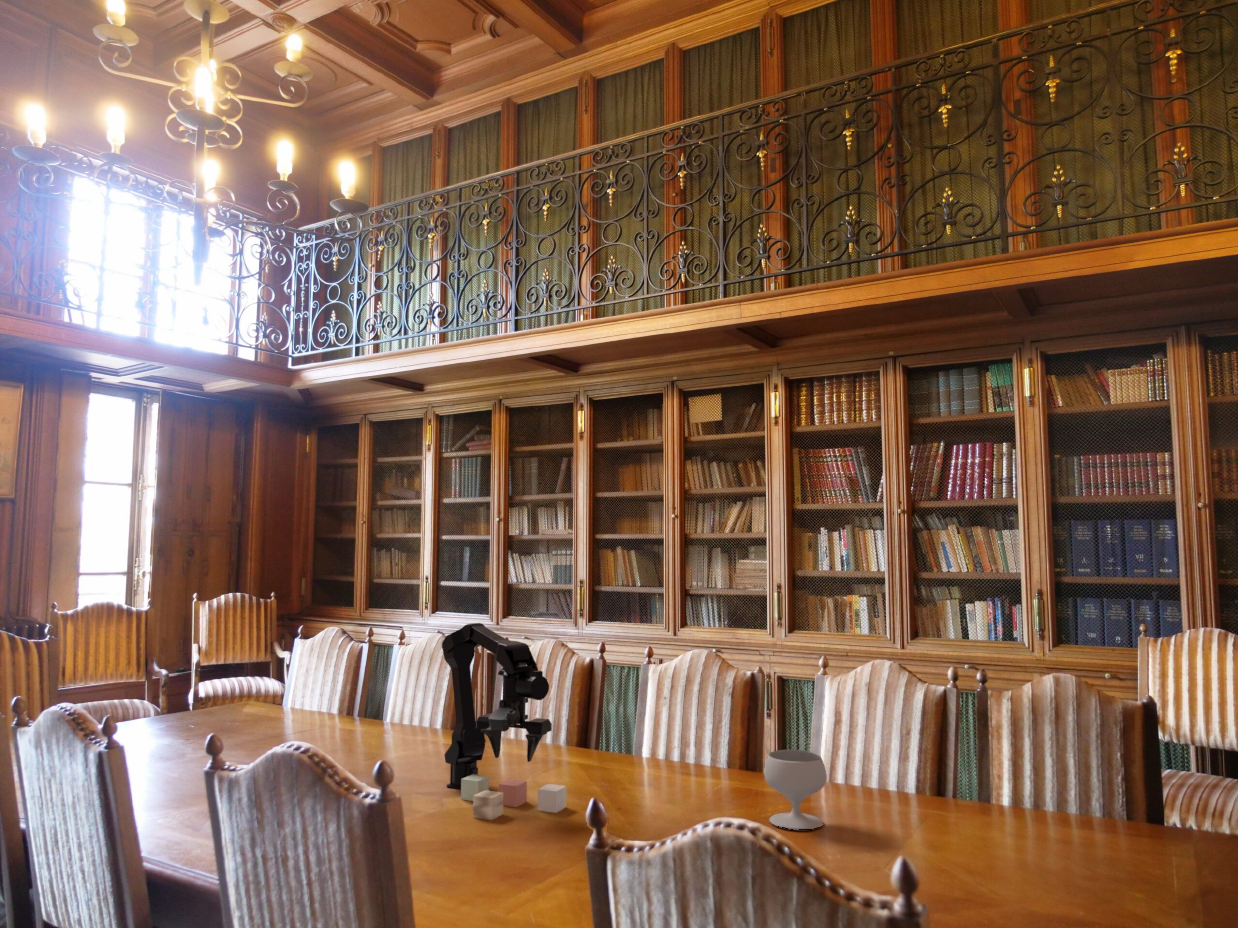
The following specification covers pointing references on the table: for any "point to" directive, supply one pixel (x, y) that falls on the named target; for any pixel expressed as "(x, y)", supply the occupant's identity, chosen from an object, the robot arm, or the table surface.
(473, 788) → the sage green block
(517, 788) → the brick-red block
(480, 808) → the ash block
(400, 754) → the table surface
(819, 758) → the chalice
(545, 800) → the pale grey block
